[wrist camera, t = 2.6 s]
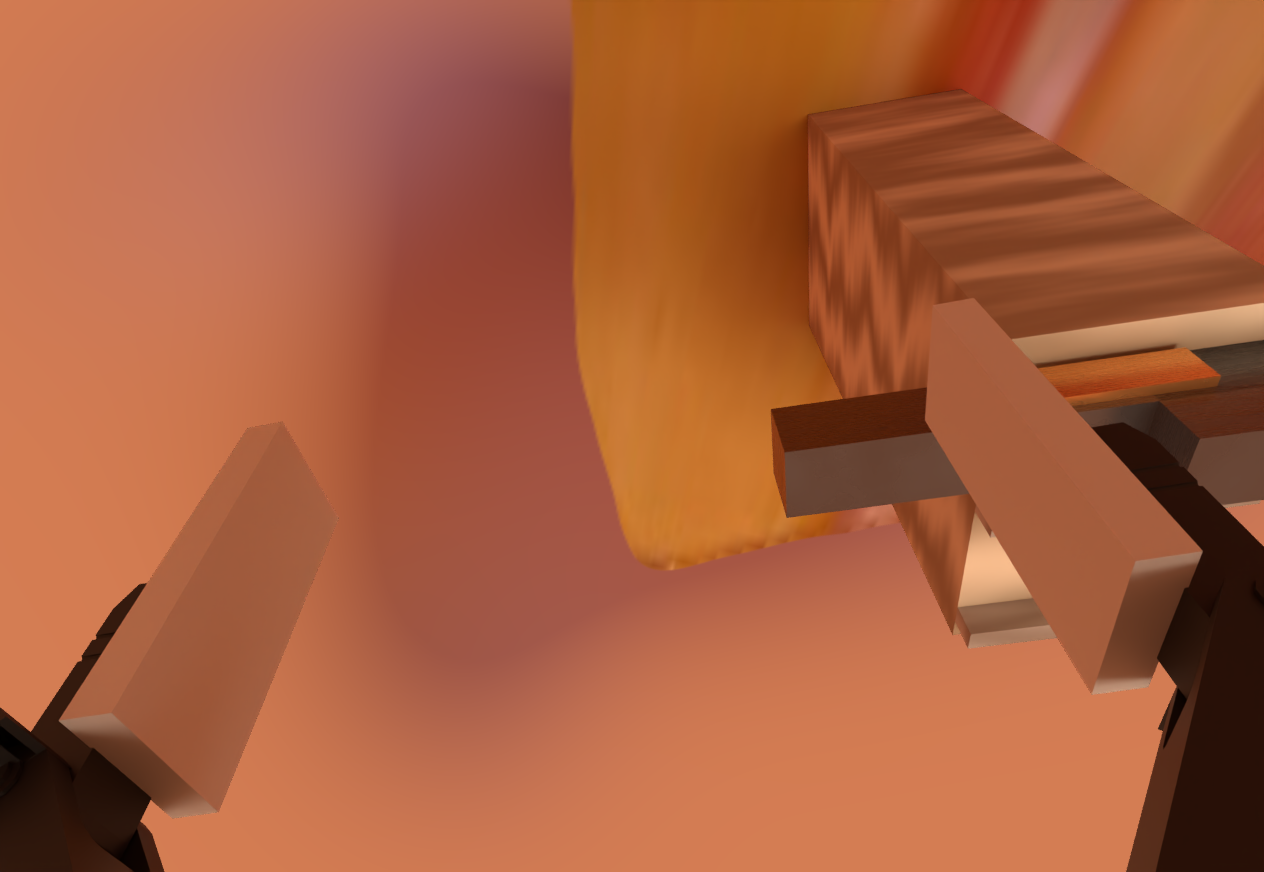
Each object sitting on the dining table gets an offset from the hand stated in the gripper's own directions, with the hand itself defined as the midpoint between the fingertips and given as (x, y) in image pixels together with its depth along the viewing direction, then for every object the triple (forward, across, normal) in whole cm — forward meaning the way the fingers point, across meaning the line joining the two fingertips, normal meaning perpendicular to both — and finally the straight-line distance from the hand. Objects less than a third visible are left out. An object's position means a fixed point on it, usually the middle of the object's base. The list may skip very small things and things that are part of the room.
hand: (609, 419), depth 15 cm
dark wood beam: (+9, +14, -9) cm, 19 cm away
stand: (+39, +17, -14) cm, 45 cm away
